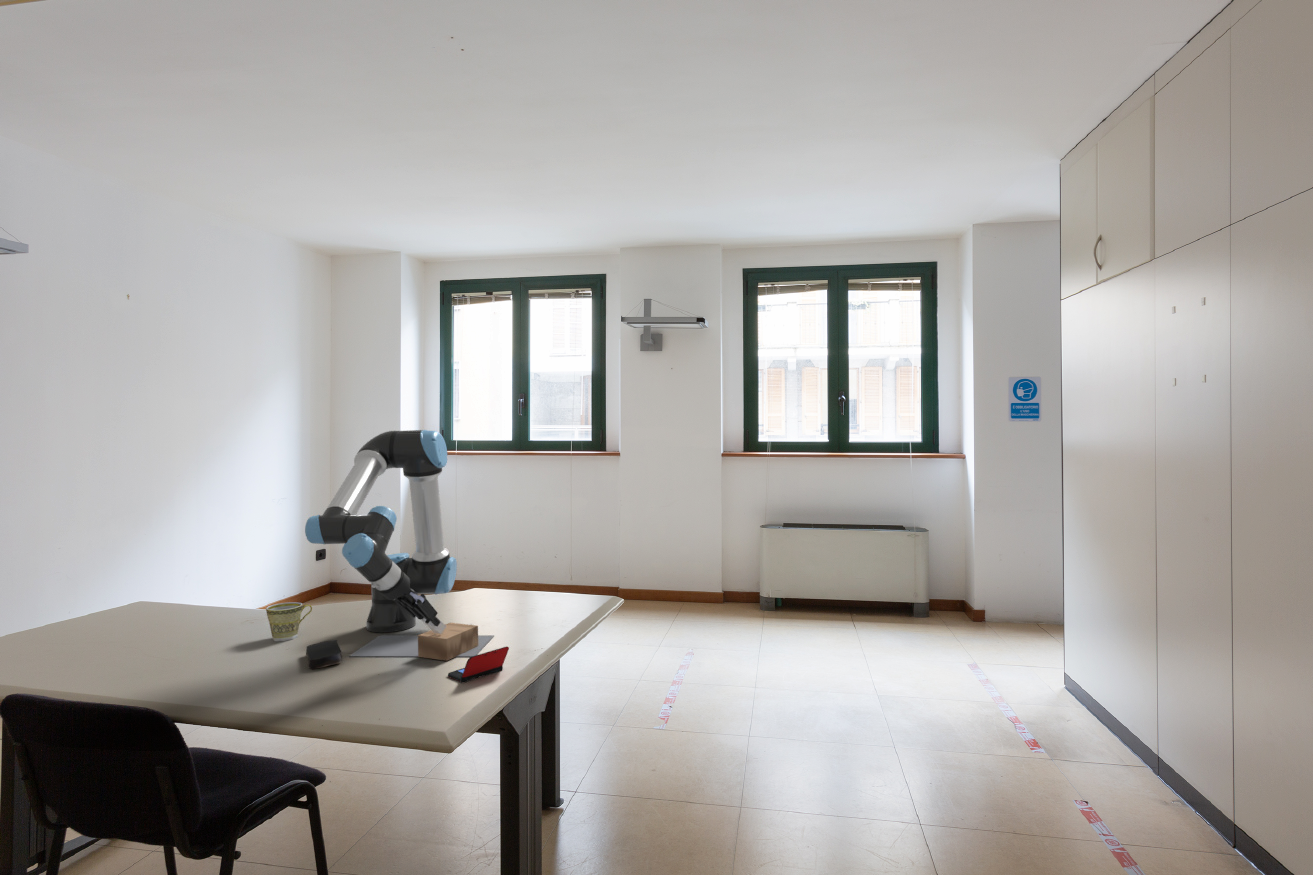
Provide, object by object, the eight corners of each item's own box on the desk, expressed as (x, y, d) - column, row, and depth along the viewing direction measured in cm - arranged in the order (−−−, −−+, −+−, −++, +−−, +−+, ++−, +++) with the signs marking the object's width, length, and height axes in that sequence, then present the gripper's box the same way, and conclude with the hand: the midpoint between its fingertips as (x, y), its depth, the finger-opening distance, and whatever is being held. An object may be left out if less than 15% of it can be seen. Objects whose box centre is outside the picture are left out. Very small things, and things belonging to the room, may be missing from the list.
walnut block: (418, 656, 202) (450, 642, 215) (447, 660, 198) (478, 646, 211) (417, 635, 202) (450, 622, 215) (446, 639, 198) (477, 625, 211)
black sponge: (343, 666, 197) (343, 653, 197) (309, 672, 192) (308, 658, 192) (337, 651, 211) (337, 638, 211) (305, 655, 207) (304, 643, 207)
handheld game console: (487, 665, 196) (486, 637, 196) (510, 674, 189) (510, 645, 189) (445, 677, 187) (445, 648, 187) (469, 687, 179) (468, 657, 179)
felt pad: (379, 636, 224) (379, 635, 224) (494, 636, 222) (494, 635, 222) (349, 656, 204) (349, 655, 204) (474, 657, 202) (474, 656, 202)
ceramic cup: (271, 645, 216) (270, 611, 216) (263, 638, 224) (262, 606, 224) (317, 636, 225) (316, 604, 225) (307, 629, 232) (307, 598, 232)
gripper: (364, 589, 191) (416, 637, 205) (398, 595, 183) (450, 645, 197) (381, 566, 196) (431, 615, 209) (415, 571, 188) (465, 621, 202)
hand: (440, 629), depth 203 cm, fingers closed, pressing on walnut block
